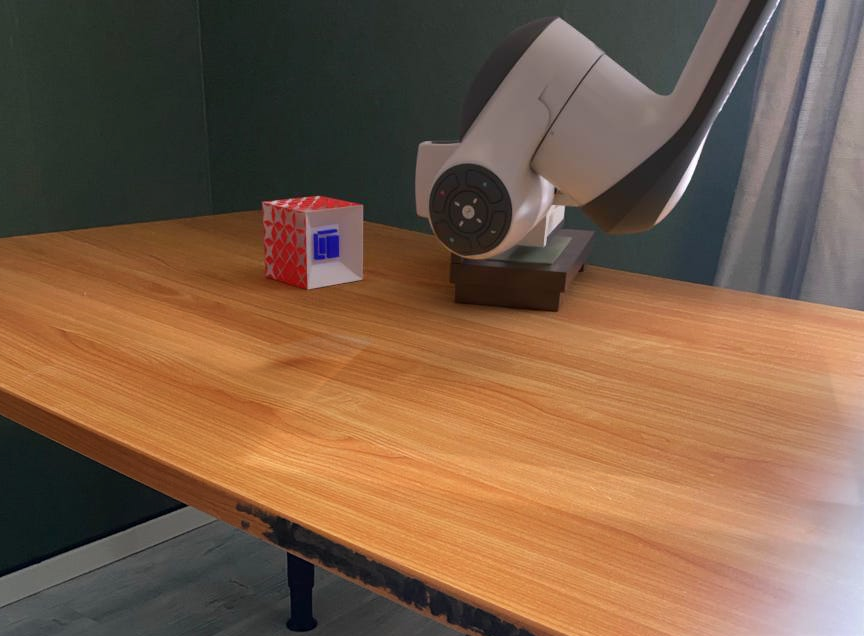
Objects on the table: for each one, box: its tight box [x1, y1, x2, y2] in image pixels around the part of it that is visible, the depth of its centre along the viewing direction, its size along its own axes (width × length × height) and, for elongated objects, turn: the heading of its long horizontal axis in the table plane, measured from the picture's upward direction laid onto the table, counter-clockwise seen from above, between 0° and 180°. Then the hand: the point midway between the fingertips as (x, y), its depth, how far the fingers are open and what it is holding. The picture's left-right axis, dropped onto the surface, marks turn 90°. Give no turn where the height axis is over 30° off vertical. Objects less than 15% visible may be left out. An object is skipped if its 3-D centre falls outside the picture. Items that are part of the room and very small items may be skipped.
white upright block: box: [515, 205, 566, 247], centre depth 105 cm, size 14×5×12 cm, turn 163°
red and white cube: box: [261, 195, 364, 290], centre depth 111 cm, size 8×8×8 cm
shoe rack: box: [449, 228, 596, 312], centre depth 111 cm, size 12×24×7 cm, turn 163°
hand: (532, 167), depth 102 cm, fingers closed on white upright block, 5 cm apart
